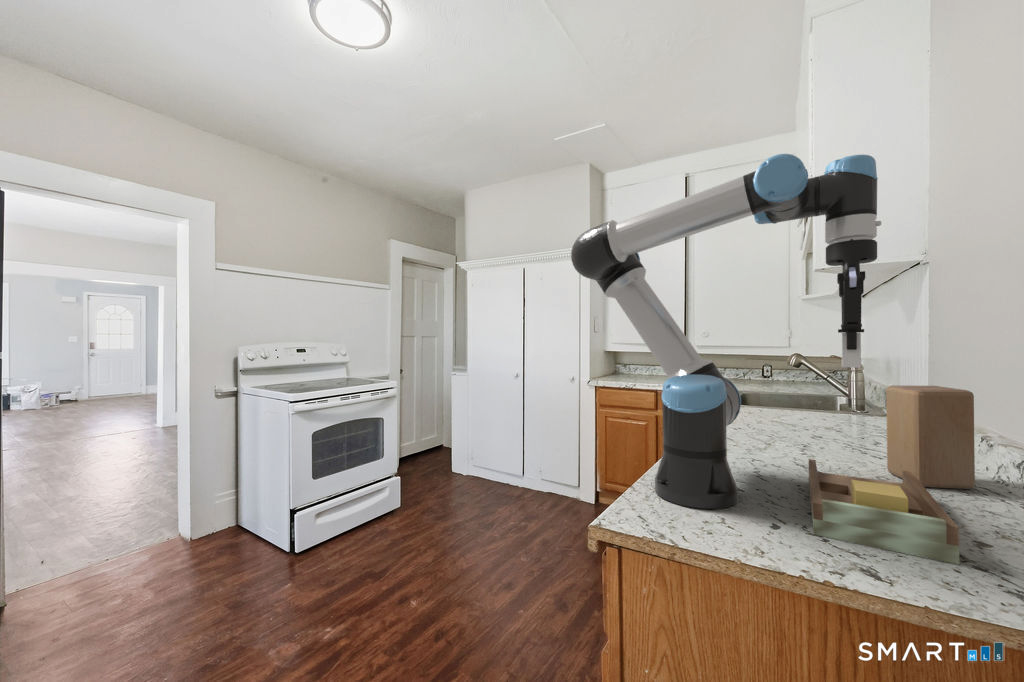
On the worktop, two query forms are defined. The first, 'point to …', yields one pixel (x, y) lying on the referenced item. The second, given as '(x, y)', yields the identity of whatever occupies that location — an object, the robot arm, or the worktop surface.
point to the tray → (882, 518)
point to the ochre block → (879, 496)
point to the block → (931, 435)
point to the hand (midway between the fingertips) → (851, 367)
